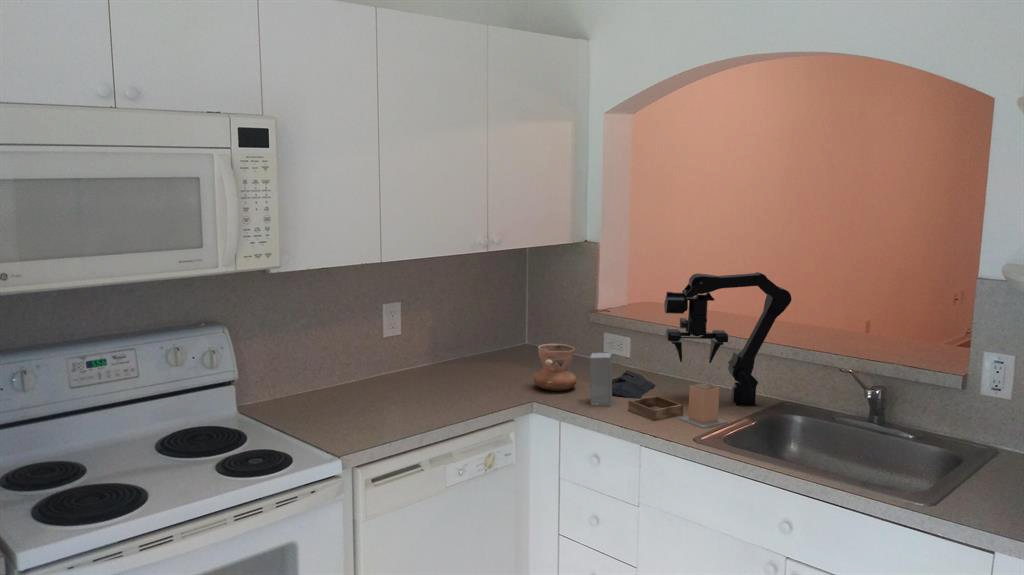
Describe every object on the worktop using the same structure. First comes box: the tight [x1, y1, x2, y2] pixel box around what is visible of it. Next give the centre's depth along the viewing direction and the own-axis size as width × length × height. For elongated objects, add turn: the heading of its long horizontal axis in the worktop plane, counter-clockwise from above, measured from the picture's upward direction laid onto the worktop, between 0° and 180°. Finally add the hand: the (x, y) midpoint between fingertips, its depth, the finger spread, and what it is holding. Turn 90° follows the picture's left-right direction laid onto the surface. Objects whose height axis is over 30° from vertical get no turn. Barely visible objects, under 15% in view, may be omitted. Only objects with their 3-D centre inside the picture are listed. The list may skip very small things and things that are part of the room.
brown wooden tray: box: [627, 395, 684, 422], centre depth 243 cm, size 12×12×4 cm
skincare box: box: [589, 352, 613, 407], centre depth 253 cm, size 8×7×16 cm
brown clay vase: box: [533, 343, 578, 392], centre depth 270 cm, size 18×14×14 cm
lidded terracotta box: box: [687, 382, 720, 424], centre depth 235 cm, size 6×6×10 cm
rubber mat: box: [678, 415, 729, 429], centre depth 236 cm, size 10×10×1 cm
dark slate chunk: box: [612, 369, 656, 400], centre depth 269 cm, size 15×22×5 cm
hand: (695, 362), depth 255 cm, fingers open, 9 cm apart
